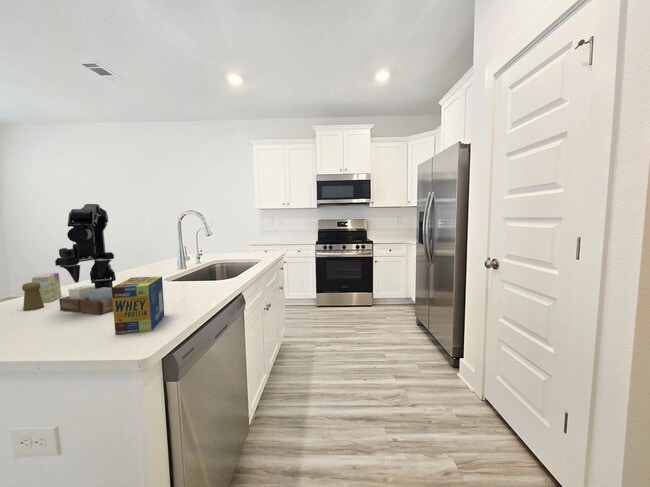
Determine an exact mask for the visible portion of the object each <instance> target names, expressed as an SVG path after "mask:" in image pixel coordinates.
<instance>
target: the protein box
mask: <svg viewBox="0 0 650 487" xmlns="http://www.w3.org/2000/svg"><path fill="white" fill-rule="evenodd" d="M163 285H164V284H163V276H141V277H140V276H137V277H130V278H128V279H126V280H124V281H122V282H120V283H118V284H116V285H114V286H113V287H112V300H113V311H112V312H113V321H114V335H122V334H132V333H133V334H135V333H142V332H143V333H145V332H152V331H153V330H154V328H155V327H156V326H157V325H158V324H159V323H160V322H161V321H162V320H163V318H164V317H165V305H164V304H165V303H164V302H165V300H164V286H163ZM157 323H158V324H157Z"/></svg>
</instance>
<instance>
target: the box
mask: <svg viewBox="0 0 650 487" xmlns="http://www.w3.org/2000/svg"><path fill="white" fill-rule="evenodd" d="M60 280H61V279H60V272H47V273H41V274H39V275H36V276H33V277H31V282H38V283H39V284H40V289H39V292H40V295H41V298H42V301H43V304H45V303H51V302H54V301H55V300H57V299H59V298H62V290H61V281H60Z"/></svg>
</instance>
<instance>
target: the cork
mask: <svg viewBox="0 0 650 487" xmlns="http://www.w3.org/2000/svg"><path fill="white" fill-rule="evenodd" d="M21 289H22V291H24V293H23V294H24V296H23V308H22V311H23V312H31V310H32V311H36V310H41V309H43V308H45V305H44V303H43V301H42V298H41V295H40V292H39V289H40V284H39V283H38V282H32V281H31V282H26V283H24V284H22V287H21Z"/></svg>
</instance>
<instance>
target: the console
mask: <svg viewBox="0 0 650 487" xmlns="http://www.w3.org/2000/svg"><path fill="white" fill-rule="evenodd" d="M58 299H59V301H58V302H59V311H60V312H61V311H63V312H69V313H78V314H79V313H80V314H86V315H95V316H102V315H106V314H109V313H111V312H113V300H112V298H111V299H107V300H104V301H91V300H89V297H88V298H84V299H71V298H69V295H68V296H64V297H59V298H58Z"/></svg>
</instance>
